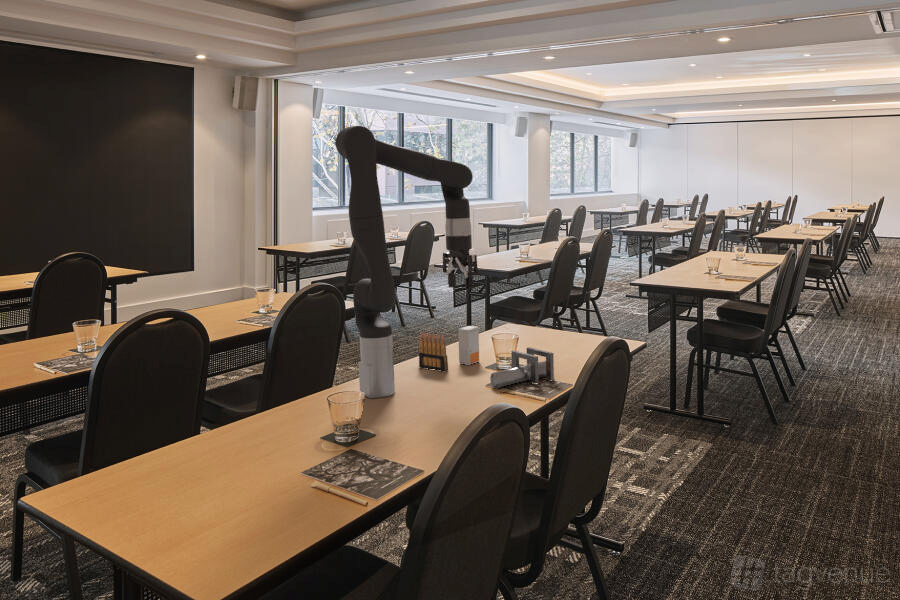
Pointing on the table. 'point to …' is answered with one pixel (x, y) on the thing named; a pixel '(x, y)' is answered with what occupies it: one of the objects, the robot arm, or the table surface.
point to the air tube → (516, 375)
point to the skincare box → (468, 345)
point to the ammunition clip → (433, 352)
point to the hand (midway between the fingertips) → (460, 288)
